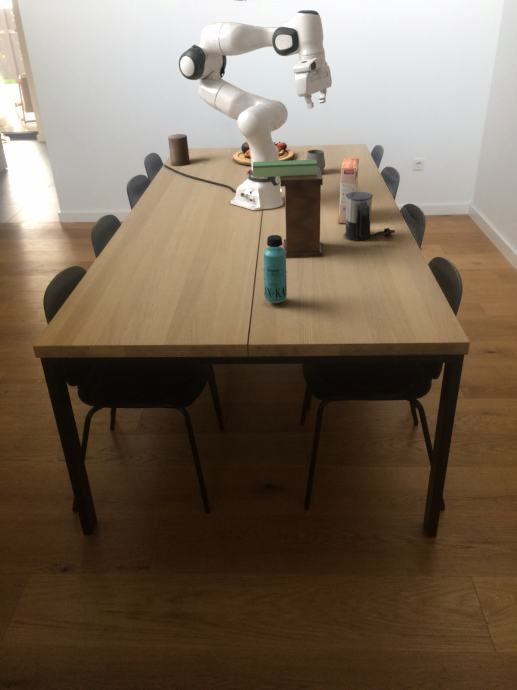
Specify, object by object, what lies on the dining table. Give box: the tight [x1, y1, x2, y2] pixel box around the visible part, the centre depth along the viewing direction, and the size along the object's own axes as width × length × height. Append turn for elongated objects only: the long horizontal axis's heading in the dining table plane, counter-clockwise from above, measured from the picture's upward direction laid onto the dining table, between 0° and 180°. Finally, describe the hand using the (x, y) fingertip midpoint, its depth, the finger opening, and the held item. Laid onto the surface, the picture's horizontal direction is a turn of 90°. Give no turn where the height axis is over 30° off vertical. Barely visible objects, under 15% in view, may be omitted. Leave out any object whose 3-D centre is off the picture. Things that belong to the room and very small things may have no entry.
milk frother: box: [344, 190, 396, 241], centre depth 200 cm, size 14×16×15 cm
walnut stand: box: [280, 167, 324, 259], centre depth 190 cm, size 13×13×26 cm
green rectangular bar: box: [253, 159, 317, 177], centre depth 182 cm, size 20×5×4 cm, turn 89°
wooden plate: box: [232, 140, 295, 167], centre depth 298 cm, size 32×32×8 cm
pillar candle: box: [167, 133, 191, 167], centre depth 295 cm, size 10×10×15 cm
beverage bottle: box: [262, 234, 288, 304], centre depth 160 cm, size 6×7×20 cm
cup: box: [305, 149, 326, 174], centre depth 271 cm, size 10×9×10 cm
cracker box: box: [338, 157, 360, 224], centre depth 215 cm, size 14×6×21 cm, turn 168°
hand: (316, 105), depth 206 cm, fingers open, 8 cm apart
